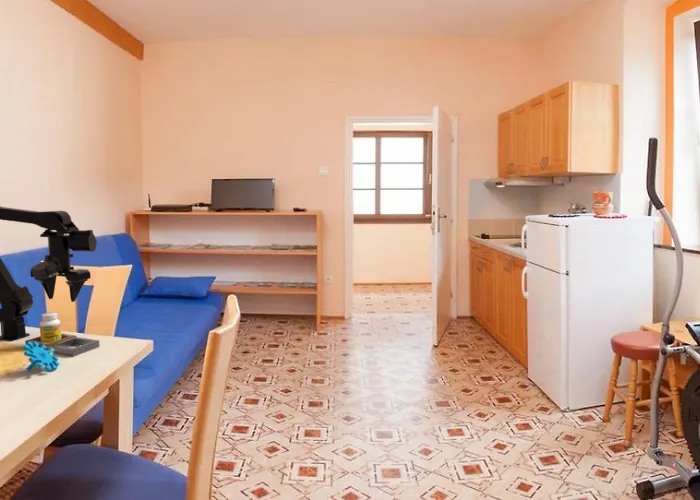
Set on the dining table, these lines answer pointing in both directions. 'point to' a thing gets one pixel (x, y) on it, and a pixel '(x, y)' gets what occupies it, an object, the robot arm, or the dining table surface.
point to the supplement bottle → (50, 328)
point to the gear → (40, 356)
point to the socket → (85, 346)
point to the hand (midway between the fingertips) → (61, 300)
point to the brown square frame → (63, 337)
